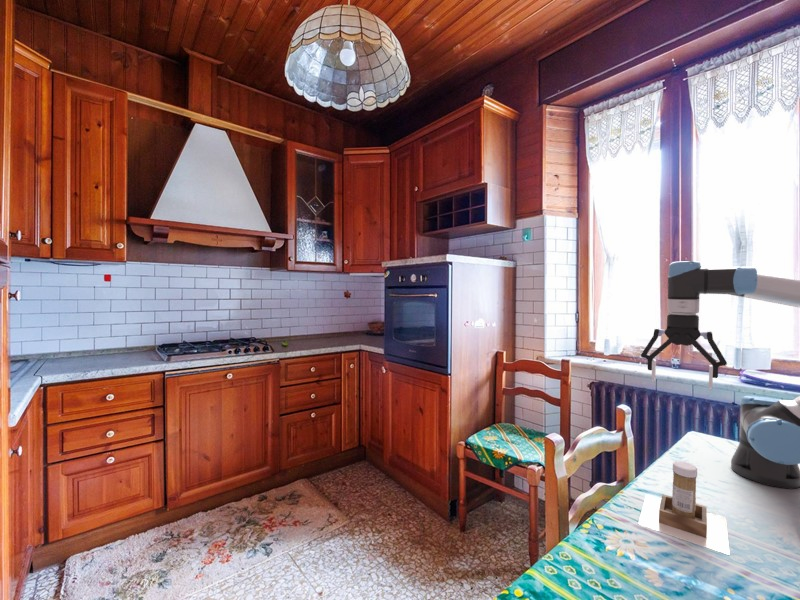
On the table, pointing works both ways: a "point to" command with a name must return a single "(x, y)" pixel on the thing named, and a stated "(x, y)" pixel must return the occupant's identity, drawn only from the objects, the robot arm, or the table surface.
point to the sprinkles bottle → (684, 489)
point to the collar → (683, 518)
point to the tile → (713, 540)
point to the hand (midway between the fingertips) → (680, 384)
